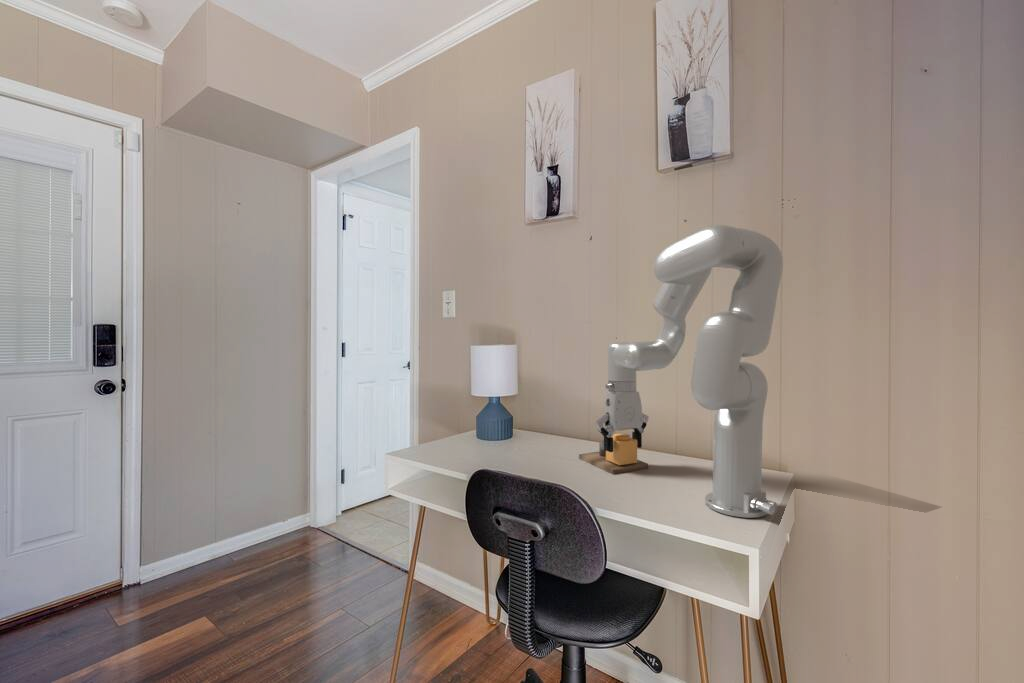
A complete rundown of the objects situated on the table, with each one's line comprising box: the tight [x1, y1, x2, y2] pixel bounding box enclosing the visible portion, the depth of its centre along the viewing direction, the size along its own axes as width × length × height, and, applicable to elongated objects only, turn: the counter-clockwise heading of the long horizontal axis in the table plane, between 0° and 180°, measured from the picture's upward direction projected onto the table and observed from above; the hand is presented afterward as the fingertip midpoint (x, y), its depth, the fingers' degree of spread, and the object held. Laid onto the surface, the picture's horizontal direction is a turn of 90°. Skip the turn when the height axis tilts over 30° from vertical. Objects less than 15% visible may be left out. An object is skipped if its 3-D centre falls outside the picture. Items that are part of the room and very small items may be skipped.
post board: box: [578, 440, 649, 475], centre depth 133 cm, size 16×12×7 cm
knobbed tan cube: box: [606, 432, 638, 465], centre depth 129 cm, size 6×6×7 cm
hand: (623, 448), depth 128 cm, fingers open, 9 cm apart
